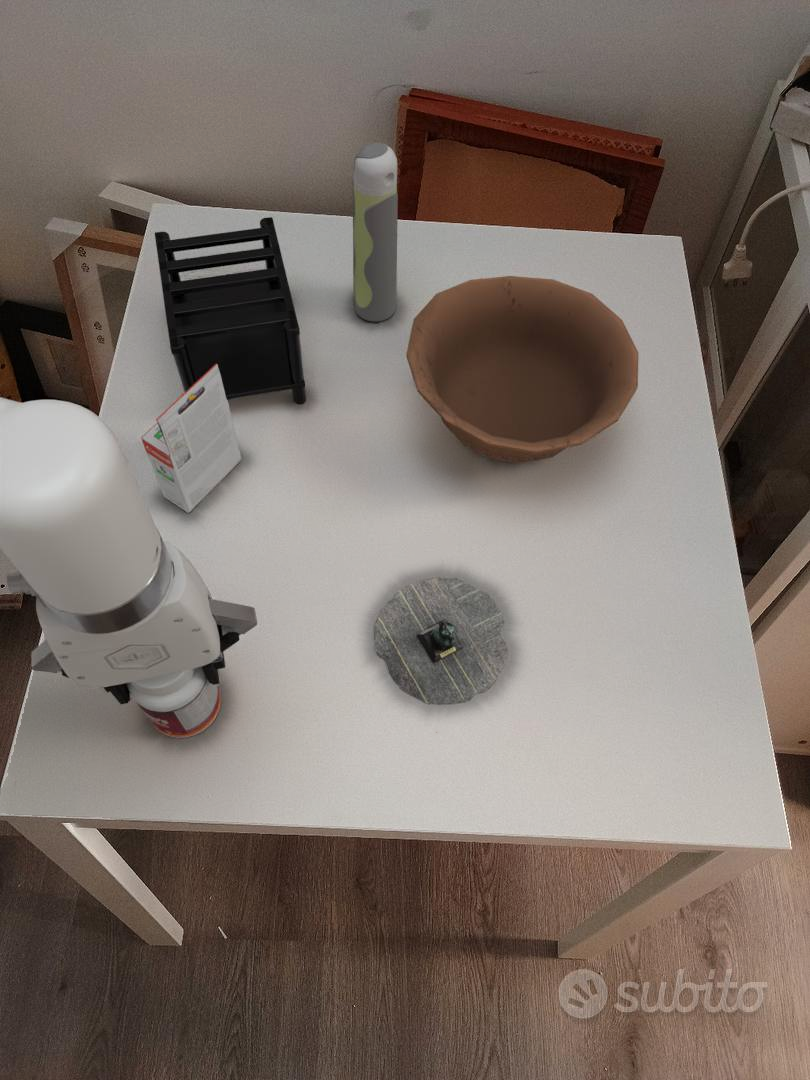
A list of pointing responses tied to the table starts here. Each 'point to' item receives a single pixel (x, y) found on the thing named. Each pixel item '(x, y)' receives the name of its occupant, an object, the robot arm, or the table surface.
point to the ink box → (193, 443)
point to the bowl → (522, 365)
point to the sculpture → (441, 640)
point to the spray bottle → (375, 232)
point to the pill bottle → (178, 701)
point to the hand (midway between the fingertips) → (168, 675)
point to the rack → (233, 315)
